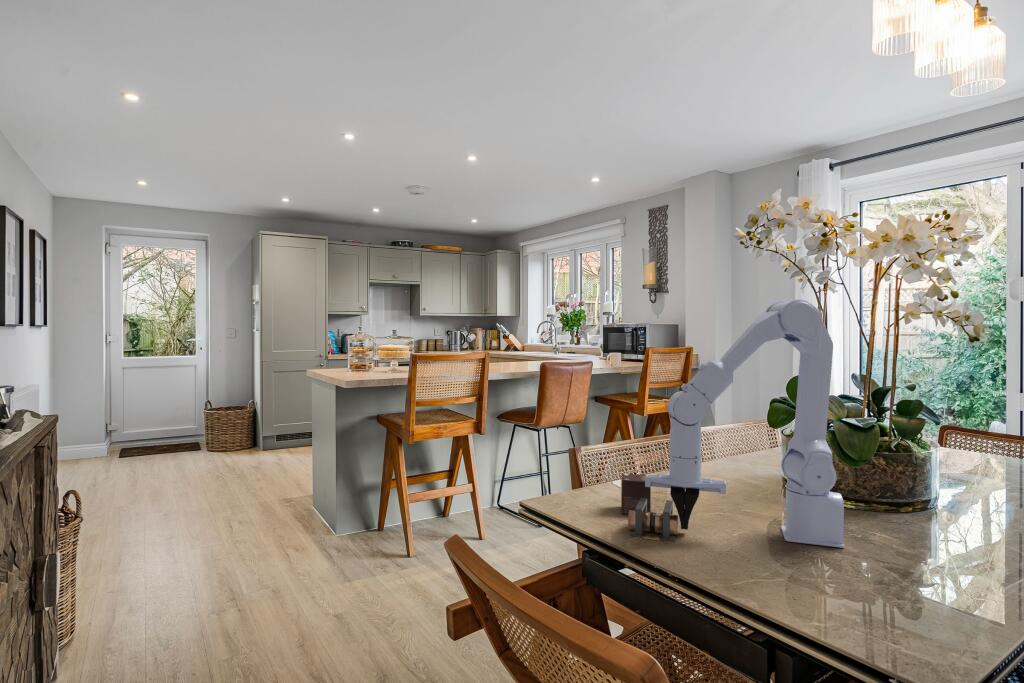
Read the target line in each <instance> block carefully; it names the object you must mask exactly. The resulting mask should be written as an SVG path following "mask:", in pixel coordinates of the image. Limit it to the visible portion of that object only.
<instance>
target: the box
mask: <svg viewBox="0 0 1024 683" xmlns="http://www.w3.org/2000/svg"><path fill="white" fill-rule="evenodd" d="M646 475H647V474H641V473H640V474H639V473H638V474H635V473H621V490H620V491H621V494H620V495H621V497H620V498H621V500H620V501H621V504H620V505H621V506H620V507H621V509H620V510H621V514H622V515H626V516H628V514H629V510H634V511H635V509H636V507H637V504H638V502H639V500H640V498H647V512H652V510H651V509H652V508H651V506H652V505H651V503H652V502H651V499H652V497H651V496H652V495H651V494H652V491H651V490H652V488H651V487H652V486H651V487H645V476H646Z"/></svg>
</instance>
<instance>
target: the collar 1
mask: <svg viewBox="0 0 1024 683" xmlns="http://www.w3.org/2000/svg"><path fill="white" fill-rule="evenodd" d="M643 512H647V498H640V500H639V502H638V504H637V507H636V509H635V530H631V531H630V532H629V536H630V537H637V538H643V536H648V533H647V532H644V531H643Z"/></svg>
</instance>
